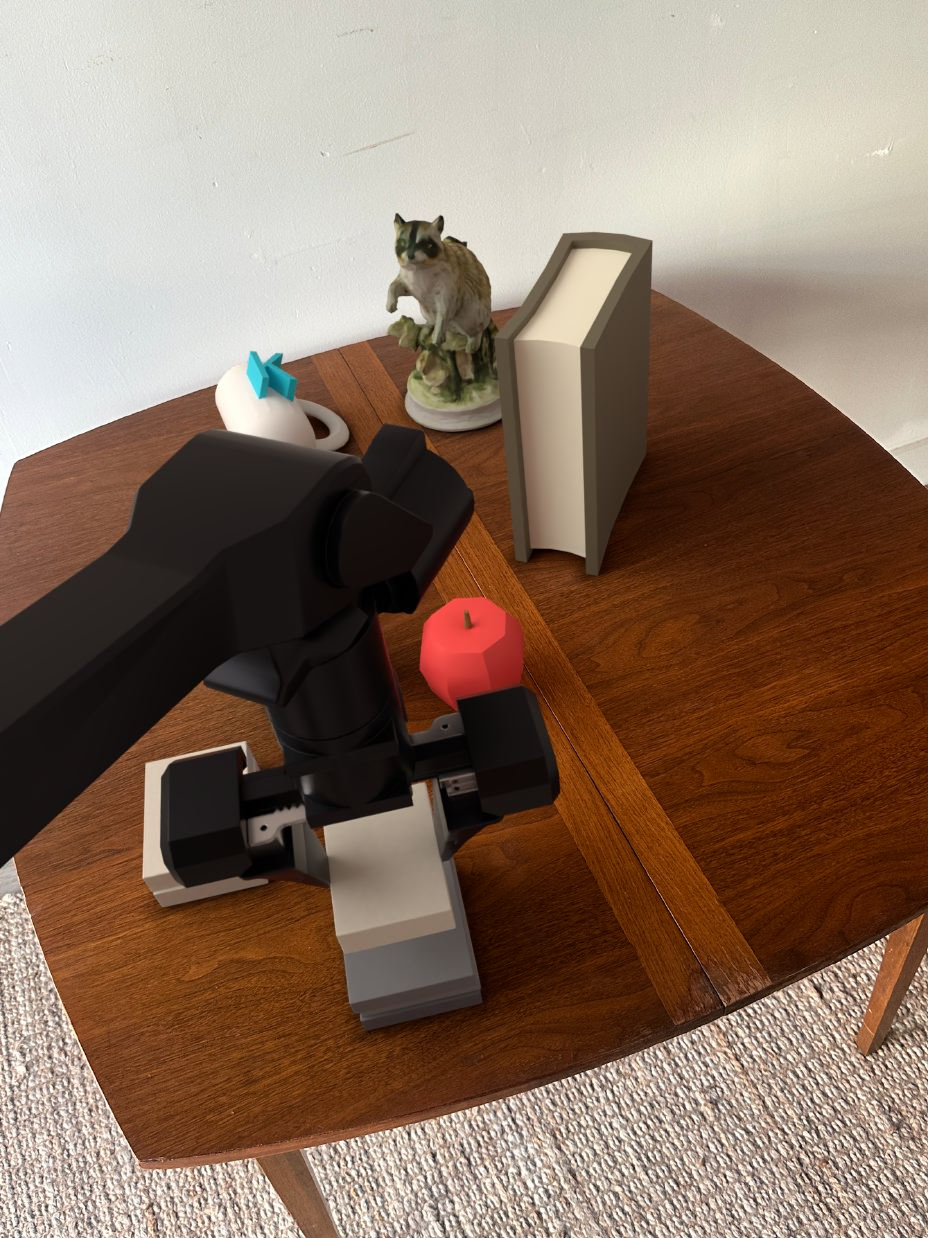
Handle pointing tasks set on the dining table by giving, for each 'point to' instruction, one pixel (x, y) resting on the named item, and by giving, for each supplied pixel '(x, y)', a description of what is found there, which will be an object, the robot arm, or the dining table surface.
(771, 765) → the dining table surface
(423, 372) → the figurine
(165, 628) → the robot arm
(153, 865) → the white pile
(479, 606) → the apple
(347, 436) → the mug
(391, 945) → the grey pile
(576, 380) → the book
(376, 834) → the white block
